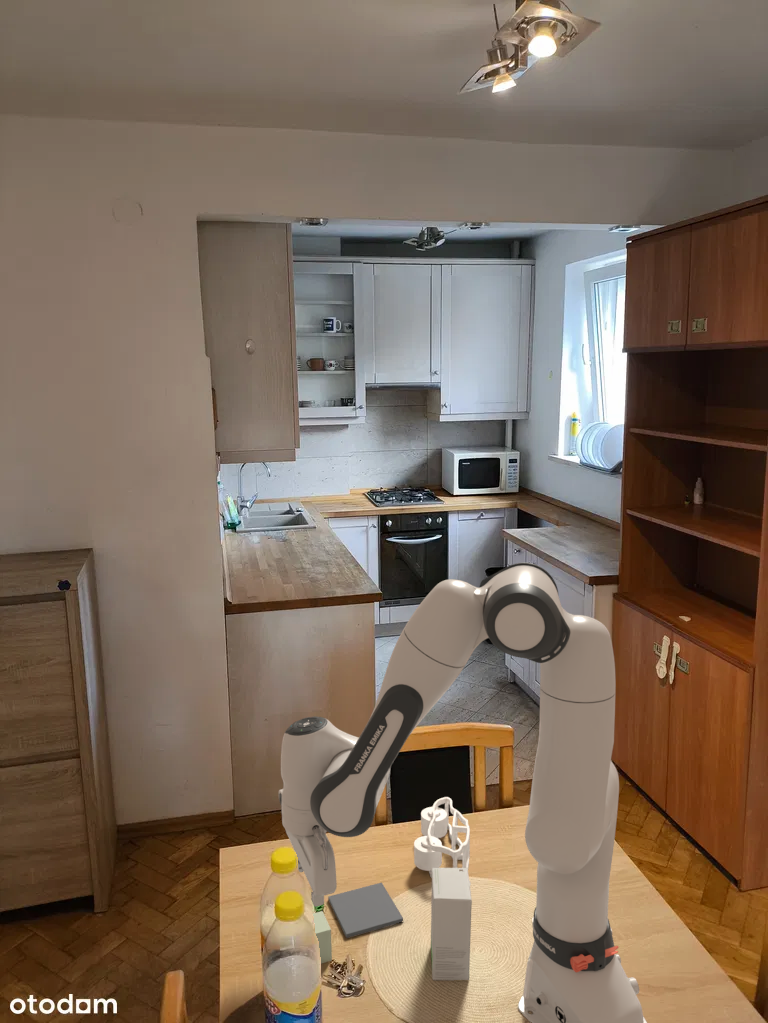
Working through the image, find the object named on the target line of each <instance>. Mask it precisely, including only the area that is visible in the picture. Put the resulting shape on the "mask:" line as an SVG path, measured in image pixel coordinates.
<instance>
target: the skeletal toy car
mask: <svg viewBox="0 0 768 1023" xmlns="http://www.w3.org/2000/svg"><path fill="white" fill-rule="evenodd" d="M441 805H444V808H442V807H439V806H441ZM449 812H450V814H452V815H453V819H452V824H450V823H449V815H450V814H449ZM458 821H460V822H461V824H463V825H459V824H458ZM420 824H421V825H420V826H421V827H420V832H421V834H422V836H420V837H417V838H416V839H415V840H414V842H413V852H414V853H413V861H414V863H413V864H414V866H415V867H417V869H419V870H422V871H427V872H428V873H429V877H430V878H431V879H432V868H441V866H442V863H443V854H445V855H448V856H449V857H450V856H451V859H452V868H458V860H459V861H462V862H461V865H462V867H461V868H467V869H468V870H469V867H470V858H471V854H470V853H471V850H470V849H471V845H470V844H471V843H470V842H471V840H470V839H471V838H470V837H471V834H470V832H471V829H470V828H471V826H470V825H469V820H468V818H465V817H464V815H462V813H461V812H460V811H459V810H458V809H456V808H454V807H453V800H452V798H450V797H449V796H444V797H441V798H439V799H437V800H436V801H434V803H433V805H432V806H429V807H426V808H423V809H422V810H421V812H420ZM448 832H449V839H450V841H451V848H450V847H448V846H445V845H443V844H442V841H441V838H444V837H445V836H446V835H447V833H448ZM458 833H464V834H465V841H463V842H462V840H461V839H460V838H459V836H458V835H459V834H458ZM457 845H458V847H459V848H458V849H456V846H457Z"/></svg>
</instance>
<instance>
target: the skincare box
mask: <svg viewBox="0 0 768 1023" xmlns="http://www.w3.org/2000/svg"><path fill="white" fill-rule="evenodd" d="M471 885H472V884H471V881H470V876H469V868H468V869H467V868H462V867H457V868H453V867H439V868H432V878H431V907H430V908H431V910H430V912H431V914H430V915H431V918H430V919H431V920H430V957H431V973H432V974H431V978H432V981H454V980H469V981H470V965H471V963H470V962H471V959H470V958H471V956H470V955H471V932H472V931H471V930H472V904H473V901H472V891H471Z"/></svg>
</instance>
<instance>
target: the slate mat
mask: <svg viewBox="0 0 768 1023" xmlns="http://www.w3.org/2000/svg"><path fill="white" fill-rule="evenodd" d="M327 898H328V903H329V905H330V907H331V909H332V911H333V913H334V915H335V917H336V920H337V921H338V923H339V925H340V928H341V930H342V932H343V934H344V936H345V938H346V939H348V938H352V937H355V936H356V937H357V936H359V935H363V934H366V933H369V932H374V931H376V930H380V929H384V928H387V927H391V926H394V925H397V924H396V923H398V924H400V923H399V922H402V921H403V922H404V917H403V915H402V914H401V912H400V910H399V909H398V907H397V905H396V904H395V902H394V900H393V898H392V897H391V895H390V894H389V892H388V891H387V888H386V887H385V885H384V884H383V882H379V883H374V884H370V885H367V886H362V887H359V888H355V889H351V890H347V891H343V892H339V893H336V894H332V895H329V896H328V897H327ZM403 922H402V923H403Z"/></svg>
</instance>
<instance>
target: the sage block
mask: <svg viewBox="0 0 768 1023" xmlns="http://www.w3.org/2000/svg"><path fill="white" fill-rule="evenodd" d="M312 914H313V916H314V923H315V933H316V936H317V938H318V941H319V948H320V957H321V964H323V963H328V962H330V961H332V960H333V957H332V956H333V955H332V952H333V950H332V928H331V926H330V924H329V922H328V919H327V918H326V915H325V913H324V911H323V910H321V911H317V912H314V913H312Z"/></svg>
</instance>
